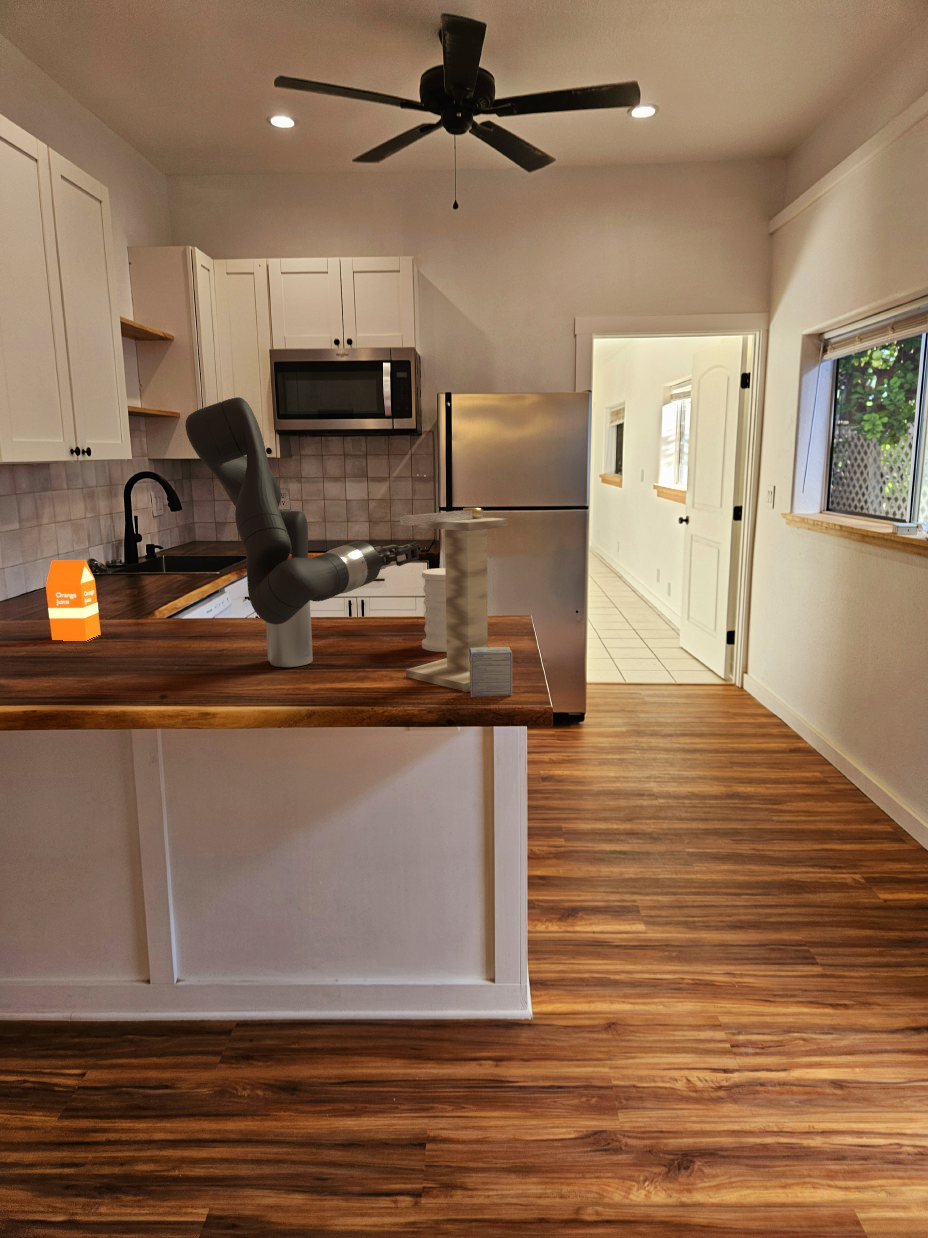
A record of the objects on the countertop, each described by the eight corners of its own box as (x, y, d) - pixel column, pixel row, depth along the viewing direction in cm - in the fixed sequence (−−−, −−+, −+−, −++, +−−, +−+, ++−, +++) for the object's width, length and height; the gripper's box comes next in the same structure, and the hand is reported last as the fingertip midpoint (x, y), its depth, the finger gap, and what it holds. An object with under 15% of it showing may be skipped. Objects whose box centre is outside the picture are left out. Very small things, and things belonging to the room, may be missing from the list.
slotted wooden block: (398, 524, 149) (397, 513, 149) (472, 517, 164) (472, 507, 164) (411, 525, 147) (411, 514, 146) (485, 517, 162) (485, 508, 162)
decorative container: (438, 638, 199) (437, 566, 195) (479, 643, 193) (478, 569, 189) (412, 648, 189) (410, 572, 185) (454, 654, 183) (453, 576, 179)
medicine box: (510, 689, 155) (510, 646, 153) (512, 696, 151) (512, 651, 149) (469, 690, 155) (468, 647, 153) (470, 697, 150) (470, 652, 148)
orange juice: (86, 641, 200) (78, 561, 196) (51, 641, 200) (42, 562, 196) (101, 634, 207) (93, 557, 203) (67, 635, 208) (58, 558, 204)
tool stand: (406, 676, 165) (401, 520, 158) (455, 662, 176) (453, 515, 169) (464, 691, 154) (462, 524, 148) (512, 674, 165) (512, 518, 159)
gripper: (379, 543, 129) (428, 525, 143) (309, 548, 136) (363, 530, 150) (386, 588, 131) (434, 566, 145) (317, 590, 138) (369, 569, 152)
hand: (398, 548), depth 147 cm, fingers open, 8 cm apart
